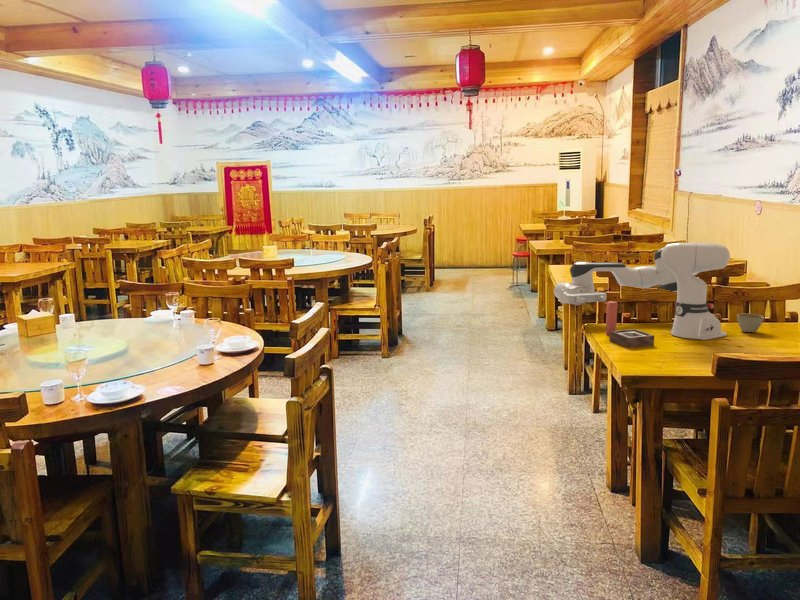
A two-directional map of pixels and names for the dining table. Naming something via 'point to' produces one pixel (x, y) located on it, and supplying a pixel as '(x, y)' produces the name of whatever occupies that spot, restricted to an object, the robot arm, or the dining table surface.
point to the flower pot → (749, 322)
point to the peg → (611, 317)
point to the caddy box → (631, 338)
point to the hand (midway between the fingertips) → (594, 300)
